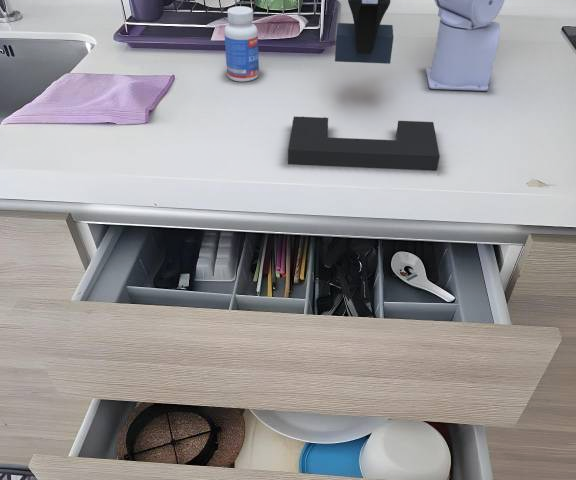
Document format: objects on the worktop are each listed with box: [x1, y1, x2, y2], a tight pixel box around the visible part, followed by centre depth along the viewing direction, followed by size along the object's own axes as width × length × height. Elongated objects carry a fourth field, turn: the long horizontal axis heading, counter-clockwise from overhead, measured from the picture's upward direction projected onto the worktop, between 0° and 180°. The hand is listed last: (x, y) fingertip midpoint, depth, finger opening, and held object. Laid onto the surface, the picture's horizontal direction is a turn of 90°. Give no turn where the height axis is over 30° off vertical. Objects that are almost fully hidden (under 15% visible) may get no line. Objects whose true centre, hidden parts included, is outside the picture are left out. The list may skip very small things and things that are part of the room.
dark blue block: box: [334, 22, 394, 65], centre depth 84 cm, size 8×5×4 cm, turn 85°
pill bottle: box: [223, 5, 260, 82], centre depth 95 cm, size 6×5×10 cm
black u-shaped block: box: [287, 115, 440, 171], centre depth 81 cm, size 20×10×2 cm, turn 85°
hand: (364, 45), depth 85 cm, fingers closed on dark blue block, 5 cm apart
